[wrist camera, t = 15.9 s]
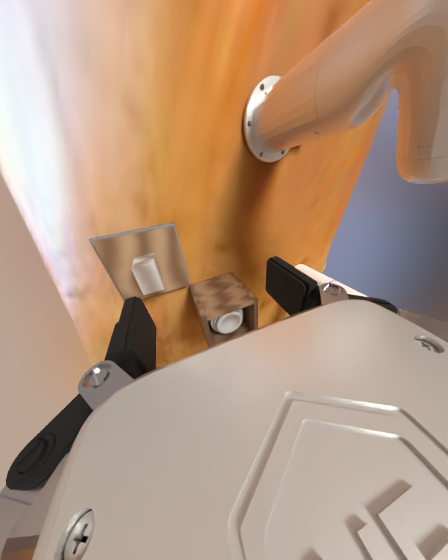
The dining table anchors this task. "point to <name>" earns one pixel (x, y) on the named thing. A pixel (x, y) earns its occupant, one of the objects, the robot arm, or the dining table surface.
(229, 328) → the coffee cup
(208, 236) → the dining table surface
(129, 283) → the lid
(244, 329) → the box
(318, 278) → the cylindrical container
